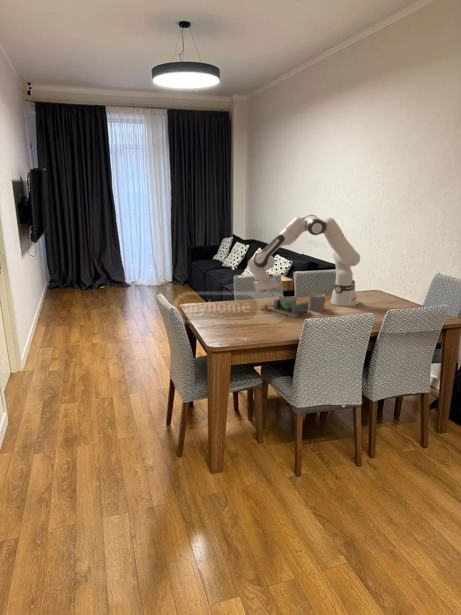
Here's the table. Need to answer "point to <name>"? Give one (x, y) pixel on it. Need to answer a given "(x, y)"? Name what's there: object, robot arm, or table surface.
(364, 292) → the table surface
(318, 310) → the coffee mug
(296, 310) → the vise
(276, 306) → the vise free jaw
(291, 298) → the food container
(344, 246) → the robot arm
